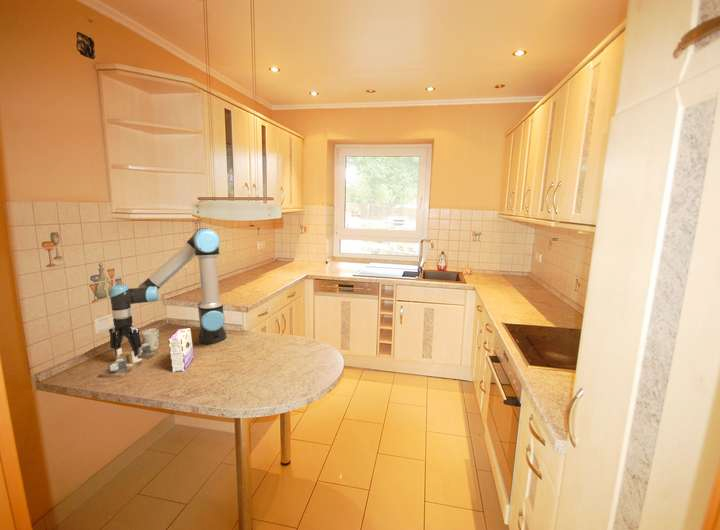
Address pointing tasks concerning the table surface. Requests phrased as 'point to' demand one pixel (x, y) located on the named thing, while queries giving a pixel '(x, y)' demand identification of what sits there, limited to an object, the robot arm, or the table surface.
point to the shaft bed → (144, 358)
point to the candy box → (181, 350)
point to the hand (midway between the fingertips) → (127, 361)
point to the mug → (151, 338)
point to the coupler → (128, 356)
